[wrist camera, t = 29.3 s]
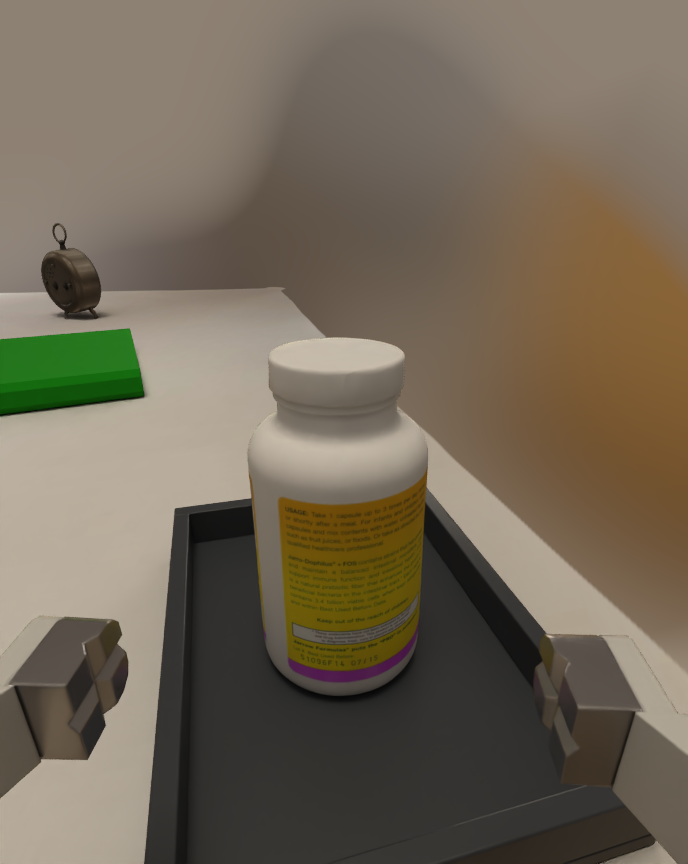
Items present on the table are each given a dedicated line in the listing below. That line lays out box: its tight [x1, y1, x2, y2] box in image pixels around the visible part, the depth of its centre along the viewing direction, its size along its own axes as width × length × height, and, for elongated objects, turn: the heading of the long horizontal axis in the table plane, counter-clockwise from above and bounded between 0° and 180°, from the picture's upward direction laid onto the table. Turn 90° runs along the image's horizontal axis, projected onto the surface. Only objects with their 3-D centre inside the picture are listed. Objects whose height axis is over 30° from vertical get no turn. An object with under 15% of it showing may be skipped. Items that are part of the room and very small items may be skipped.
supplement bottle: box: [248, 338, 428, 696], centre depth 20 cm, size 7×7×13 cm
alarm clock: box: [41, 223, 101, 319], centre depth 92 cm, size 11×5×16 cm, turn 60°
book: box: [0, 329, 144, 415], centre depth 58 cm, size 22×28×3 cm
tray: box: [144, 487, 656, 864], centre depth 22 cm, size 20×15×3 cm
